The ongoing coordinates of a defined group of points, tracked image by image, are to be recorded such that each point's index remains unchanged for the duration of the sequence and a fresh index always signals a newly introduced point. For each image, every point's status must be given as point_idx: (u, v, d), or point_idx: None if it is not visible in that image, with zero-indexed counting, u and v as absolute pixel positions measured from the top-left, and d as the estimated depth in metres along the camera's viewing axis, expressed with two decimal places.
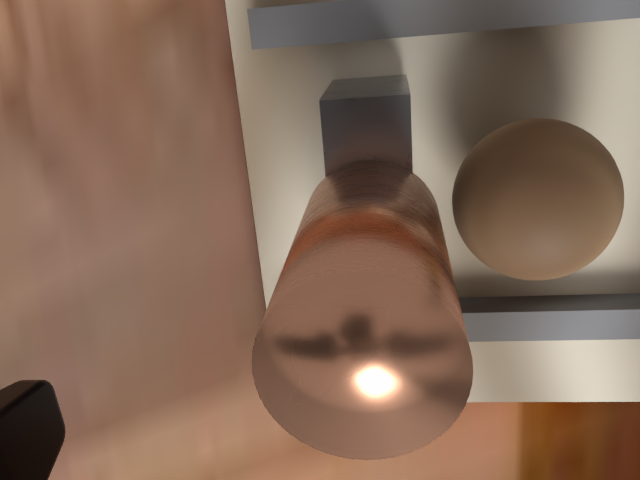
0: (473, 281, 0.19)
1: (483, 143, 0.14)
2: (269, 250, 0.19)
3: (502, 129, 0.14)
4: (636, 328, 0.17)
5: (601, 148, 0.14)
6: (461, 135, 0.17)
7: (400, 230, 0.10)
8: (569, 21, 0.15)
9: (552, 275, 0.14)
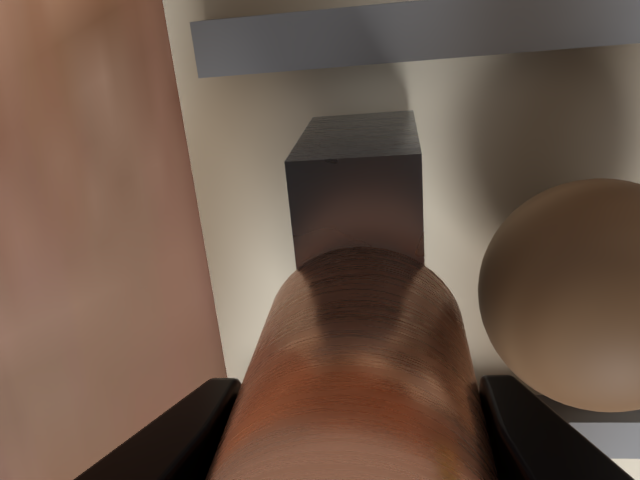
0: None
1: (525, 216, 0.10)
2: (234, 333, 0.14)
3: (553, 196, 0.10)
4: None
5: None
6: (487, 190, 0.12)
7: (410, 436, 0.05)
8: None
9: (628, 410, 0.10)
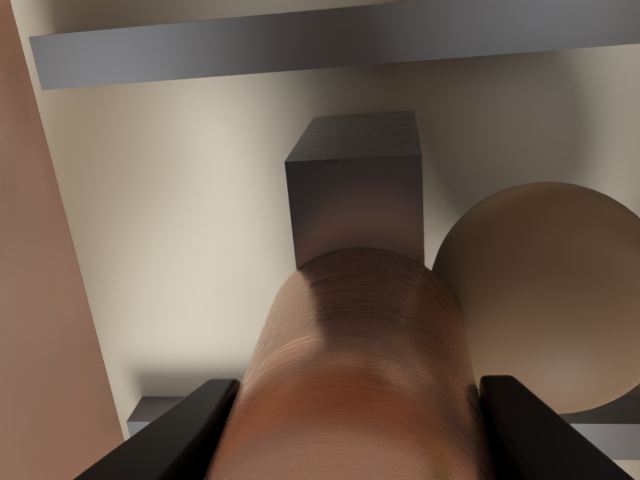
0: None
1: (471, 219, 0.10)
2: (110, 335, 0.15)
3: (499, 199, 0.10)
4: None
5: None
6: None
7: (407, 436, 0.05)
8: (457, 54, 0.11)
9: (571, 412, 0.10)
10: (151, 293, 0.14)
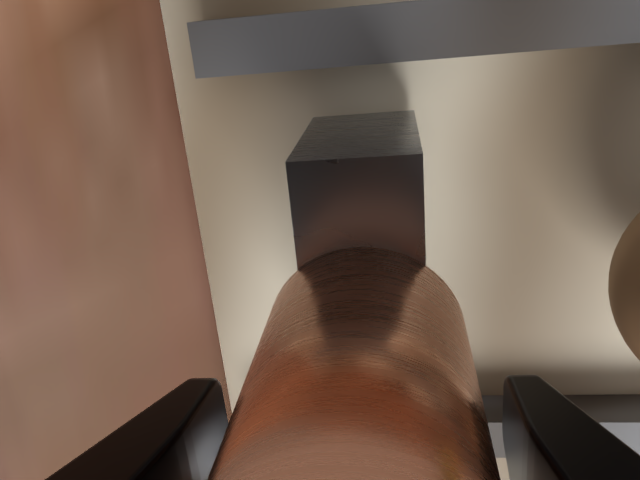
0: (499, 375, 0.14)
1: None
2: (232, 333, 0.14)
3: None
4: None
5: None
6: (485, 190, 0.12)
7: (411, 436, 0.05)
8: None
9: None
10: (279, 290, 0.14)
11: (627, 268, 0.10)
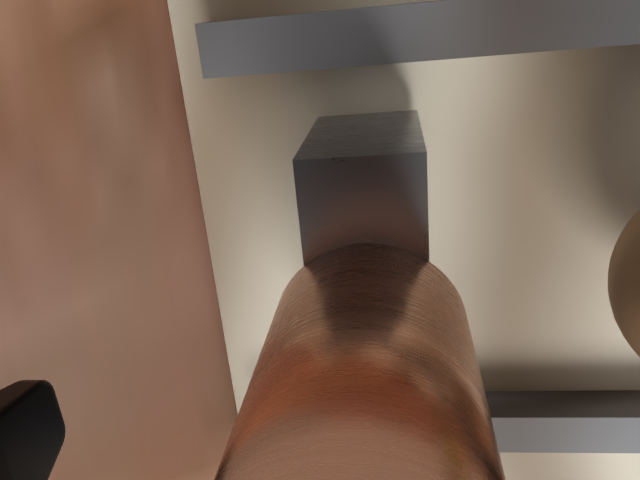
0: (500, 371, 0.14)
1: None
2: (237, 330, 0.15)
3: None
4: None
5: None
6: (487, 189, 0.13)
7: (417, 422, 0.06)
8: None
9: None
10: (284, 287, 0.14)
11: (626, 264, 0.10)
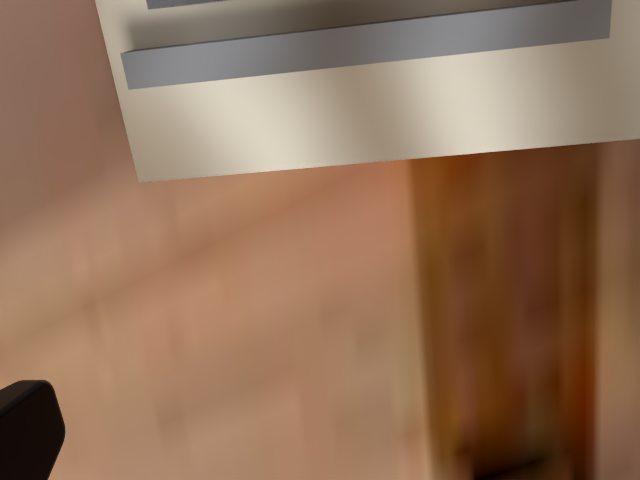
0: (330, 5, 0.17)
1: None
2: None
3: None
4: (506, 35, 0.16)
5: None
6: None
7: None
8: None
9: None
10: None
11: None
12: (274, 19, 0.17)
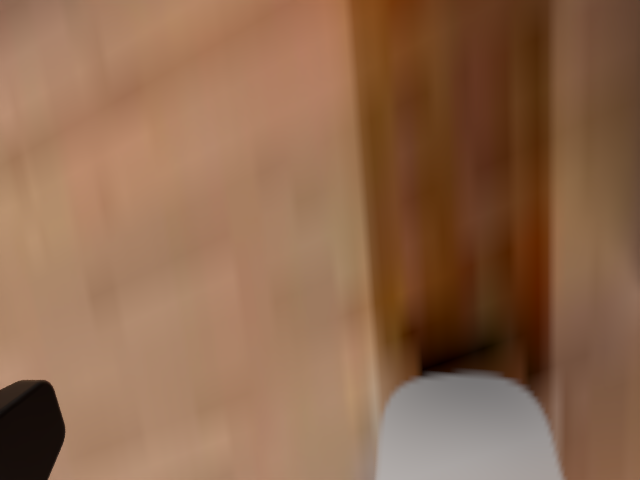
0: None
1: None
2: None
3: None
4: None
5: None
6: None
7: None
8: None
9: None
10: None
11: None
12: None
